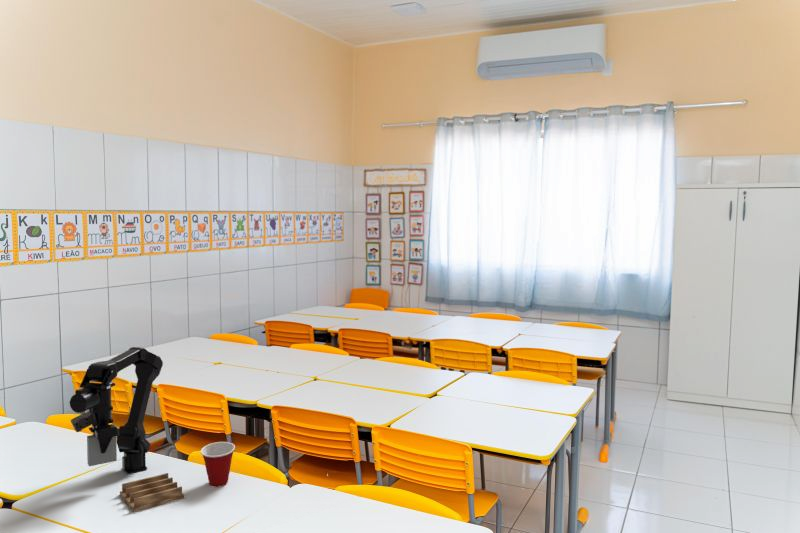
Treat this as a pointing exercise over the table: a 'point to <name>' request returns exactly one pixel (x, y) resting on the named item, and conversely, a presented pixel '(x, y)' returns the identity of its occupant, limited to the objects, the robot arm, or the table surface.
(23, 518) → the table surface
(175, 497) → the rack
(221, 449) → the plastic cup
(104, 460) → the slate
